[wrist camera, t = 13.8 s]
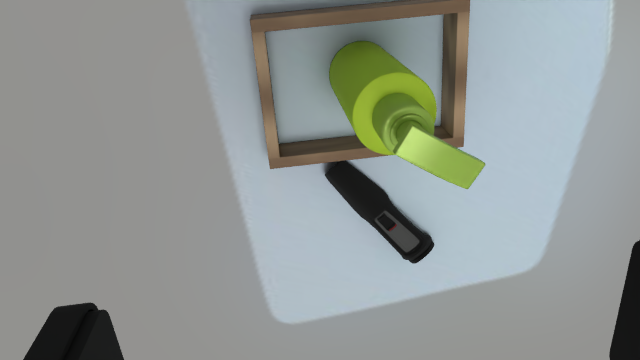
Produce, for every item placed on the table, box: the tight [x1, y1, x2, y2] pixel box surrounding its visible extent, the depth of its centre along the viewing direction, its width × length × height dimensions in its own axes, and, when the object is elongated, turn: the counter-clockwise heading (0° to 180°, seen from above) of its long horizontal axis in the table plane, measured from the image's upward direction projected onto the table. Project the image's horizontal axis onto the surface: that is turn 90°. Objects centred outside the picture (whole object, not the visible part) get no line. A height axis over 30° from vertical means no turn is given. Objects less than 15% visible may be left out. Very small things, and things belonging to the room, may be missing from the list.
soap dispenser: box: [329, 41, 485, 189], centre depth 37 cm, size 6×7×20 cm
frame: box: [250, 0, 470, 169], centre depth 44 cm, size 13×18×4 cm
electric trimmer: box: [325, 161, 434, 263], centre depth 51 cm, size 4×16×3 cm, turn 43°
